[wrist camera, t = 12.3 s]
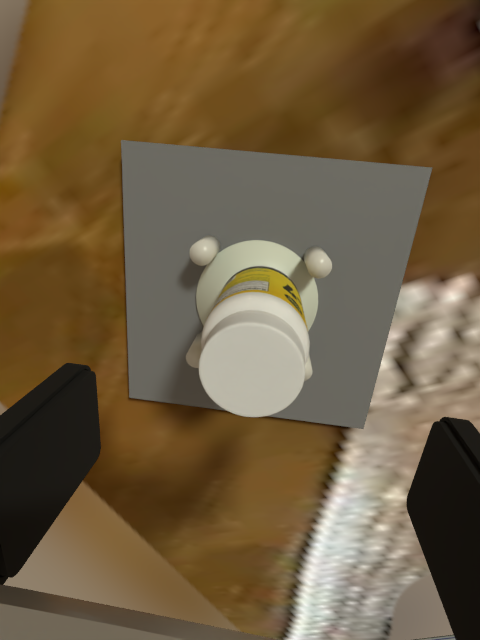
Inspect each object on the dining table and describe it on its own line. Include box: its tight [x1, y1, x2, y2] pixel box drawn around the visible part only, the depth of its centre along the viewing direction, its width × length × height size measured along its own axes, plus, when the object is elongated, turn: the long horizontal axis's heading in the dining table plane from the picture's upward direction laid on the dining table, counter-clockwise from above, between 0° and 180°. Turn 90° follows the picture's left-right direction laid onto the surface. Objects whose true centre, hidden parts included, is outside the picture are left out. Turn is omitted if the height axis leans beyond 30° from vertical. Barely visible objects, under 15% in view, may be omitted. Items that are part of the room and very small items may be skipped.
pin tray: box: [121, 140, 432, 429], centre depth 20 cm, size 16×16×4 cm
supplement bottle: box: [199, 265, 310, 417], centre depth 17 cm, size 5×5×8 cm
